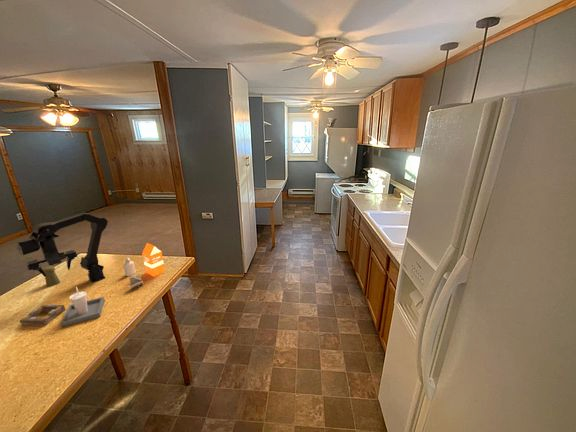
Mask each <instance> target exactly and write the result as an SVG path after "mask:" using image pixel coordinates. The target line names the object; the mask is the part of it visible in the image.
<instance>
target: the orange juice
mask: <svg viewBox="0 0 576 432" xmlns="http://www.w3.org/2000/svg"><path fill="white" fill-rule="evenodd" d="M142 258H143V264H144V265H143V266H144V268H145V273H146V274H147V275H150V276H151V277H154V278H155V277H157V276H159V275H161V274H164V273H165V271H166V269H165V263H164V258H163V252H162V250H160V249H158V247H156V246H155V245H153V244H151V243H148V242H147V243H146V244H145V247H144V248H143V251H142Z"/></svg>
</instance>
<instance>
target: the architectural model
mask: <svg viewBox="0 0 576 432" xmlns="http://www.w3.org/2000/svg"><path fill="white" fill-rule="evenodd" d="M128 280H129V283H128V284H127V285H128V287H129V288H130V289H134V288H135V287H138V288H139V287H141V286H144V282H143V279H142V277H141V274H139V273H138V274H135V275H133V276H130V277H128Z"/></svg>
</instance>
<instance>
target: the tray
mask: <svg viewBox="0 0 576 432" xmlns="http://www.w3.org/2000/svg"><path fill="white" fill-rule="evenodd" d="M104 297H105V296H101V297H97V298H93V299H89V300H87V307H88V311H87V312H86V313H84V314H78V312H77V311H76V309H75V307H74V305H73V304H72V303H71V304H70V305H69V304H68V306H67V309H66V310H65V311H66V312H65V313H64V316H63V317H62V320H61V322H60V325H61V328H65V327H69V326H72V325H75V324H76V325H77V324H80V323H84V322H87V321H91V320H94V319H97V318H100V317H101V314H102V312H103V308H104V304H105V298H104Z"/></svg>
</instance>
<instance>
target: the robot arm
mask: <svg viewBox="0 0 576 432" xmlns="http://www.w3.org/2000/svg"><path fill="white" fill-rule="evenodd" d="M84 221H86V222H89V223H90V228H91V235H90V239H89V244H88V248H87V250H86V251H87V252H86V255H85V256H84V257H83V256H82V257H81V258H80V263H79V265H80V267H81V268H82V269H83V270H86V271H88V272H87V277H88V280H89V281H90V282H91V283H95V282H98V281H102V280H103V279H106V276H105V275H104V271H103V270H104V265H101V264H99V258H98V251H99V247H100V243H101V239H102V234H103V232H104V231H105V230H106V228H107V226H108V224H109V223H108V222H109V221H108V219H107V218H105V217H102V216H101V217H100V216H94V215H92V214H90V213H86V212H80V213H78V214H75V215H72V216H68V217H65V218H62V219H59V220H56V221H48V222H43V223H42V222H41V223H37V224H35V225H34V226H33V229H32V232H31V234H30V236H29V238H28V239H26V240H19V241H17V242H16V250H17V253H18V254H19V255H20V256H22V257H23V256H25V255H30V254H32V253H35V252H39V250H41V253H42V256H43V258H44V259H42V260H38V259H34V260H30V261H27V262H26V266H27V269H28V271H38V272H39V273H40V274H41V275H42V276H43V277H44V278H45V277H46V275H45V273H44V271H43V268H42V266H41V265H44V264H48V265H49V266H54V265H57V264H61V263H62V261H63V260H65V261H66V267H67V270H68V271H70V269H71V264H72V261H73V260H75V259H76V258H78V254H77V252H76V250H73V249H71V250H67V251H62V252H59V249H58V246H57V244H56V241H55V239H57V238H59V237H60V235H59V234H56V233H57V232H58V231H60V230H62V229H64V228H66V227H70V226H73V225H76V224H79V223H82V222H84Z"/></svg>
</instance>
